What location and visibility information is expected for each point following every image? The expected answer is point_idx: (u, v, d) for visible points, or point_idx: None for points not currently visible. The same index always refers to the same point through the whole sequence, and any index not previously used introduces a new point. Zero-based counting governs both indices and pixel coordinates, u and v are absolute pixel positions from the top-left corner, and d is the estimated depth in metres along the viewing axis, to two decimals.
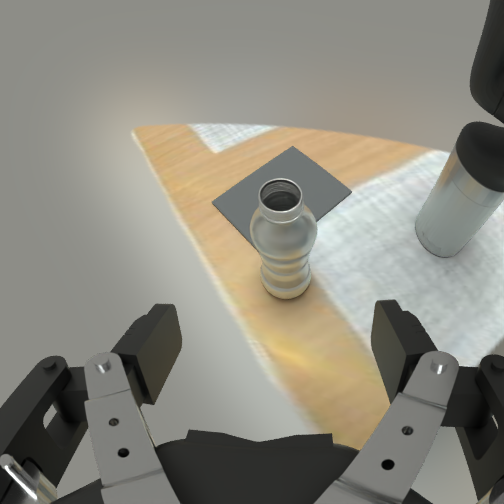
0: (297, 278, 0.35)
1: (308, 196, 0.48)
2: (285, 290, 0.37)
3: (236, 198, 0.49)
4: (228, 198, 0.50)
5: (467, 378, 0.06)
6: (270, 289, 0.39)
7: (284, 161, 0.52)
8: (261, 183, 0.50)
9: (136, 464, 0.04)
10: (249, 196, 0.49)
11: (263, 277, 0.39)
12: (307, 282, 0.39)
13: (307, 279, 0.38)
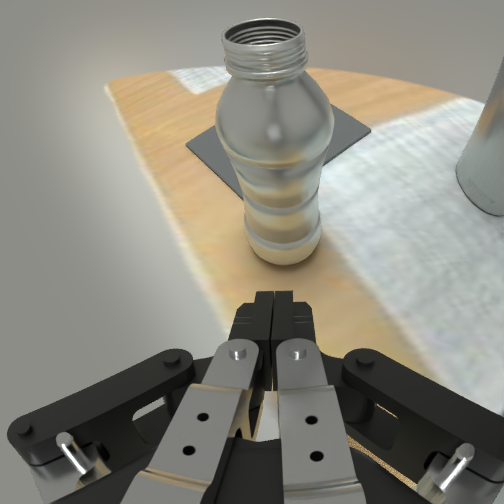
0: (301, 223, 0.21)
1: None
2: (282, 246, 0.23)
3: (217, 138, 0.35)
4: (206, 138, 0.36)
5: (333, 369, 0.08)
6: (258, 247, 0.25)
7: None
8: None
9: (191, 468, 0.04)
10: None
11: (247, 228, 0.25)
12: (316, 236, 0.24)
13: (317, 231, 0.24)
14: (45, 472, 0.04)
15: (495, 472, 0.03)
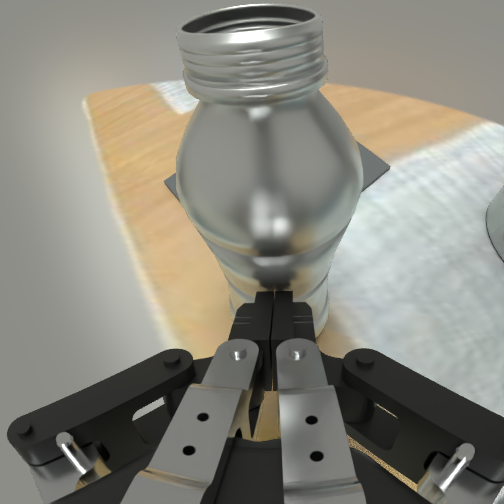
0: None
1: None
2: None
3: None
4: None
5: (333, 369, 0.08)
6: None
7: None
8: None
9: (191, 468, 0.04)
10: None
11: (232, 310, 0.19)
12: (322, 322, 0.18)
13: (323, 316, 0.18)
14: (45, 472, 0.04)
15: (495, 472, 0.03)
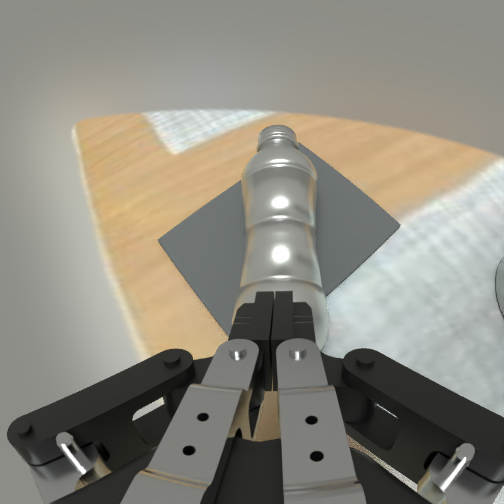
0: (300, 248, 0.20)
1: (326, 233, 0.27)
2: (278, 280, 0.19)
3: (198, 234, 0.28)
4: (184, 233, 0.28)
5: (333, 369, 0.08)
6: (247, 299, 0.19)
7: None
8: None
9: (191, 467, 0.04)
10: (221, 231, 0.28)
11: (238, 293, 0.21)
12: (322, 300, 0.19)
13: (321, 291, 0.20)
14: (45, 472, 0.04)
15: (495, 472, 0.03)
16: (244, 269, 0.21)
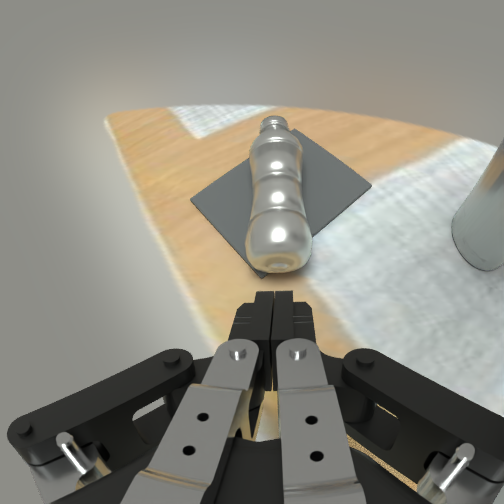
0: (285, 190, 0.30)
1: (316, 191, 0.36)
2: (270, 210, 0.29)
3: (221, 194, 0.38)
4: (210, 193, 0.38)
5: (333, 369, 0.08)
6: (252, 225, 0.29)
7: None
8: None
9: (191, 467, 0.04)
10: (238, 191, 0.38)
11: (248, 225, 0.31)
12: (302, 221, 0.29)
13: (302, 217, 0.29)
14: (45, 472, 0.04)
15: (495, 472, 0.03)
16: (251, 210, 0.31)
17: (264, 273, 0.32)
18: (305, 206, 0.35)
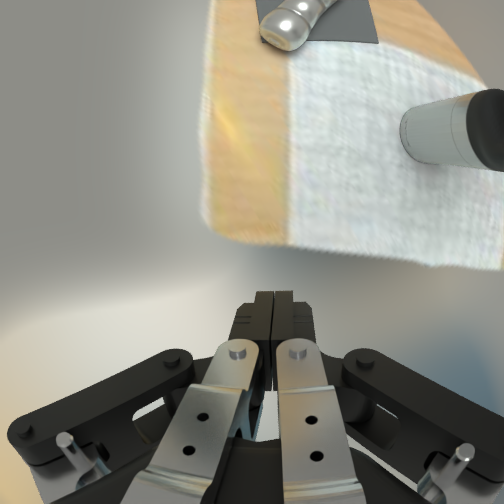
0: (309, 6, 0.30)
1: (337, 18, 0.35)
2: (290, 10, 0.30)
3: None
4: None
5: (333, 369, 0.08)
6: (274, 11, 0.31)
7: None
8: None
9: (191, 467, 0.04)
10: None
11: (273, 10, 0.32)
12: (305, 27, 0.31)
13: (307, 25, 0.31)
14: (45, 472, 0.04)
15: (495, 472, 0.03)
16: (281, 3, 0.31)
17: (265, 40, 0.37)
18: (322, 22, 0.35)
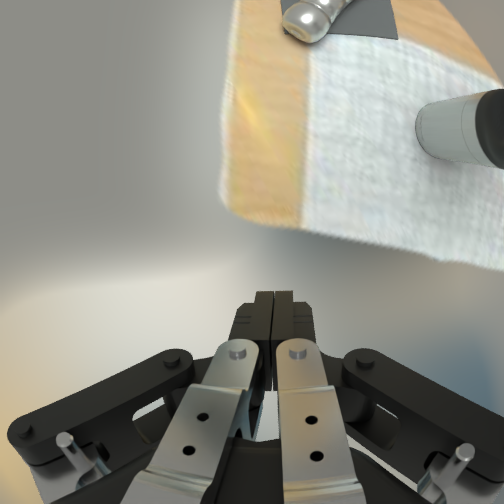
0: (330, 0, 0.30)
1: (358, 13, 0.34)
2: (311, 3, 0.30)
3: None
4: None
5: (333, 369, 0.08)
6: (296, 4, 0.31)
7: None
8: None
9: (191, 468, 0.04)
10: None
11: (295, 3, 0.32)
12: (325, 21, 0.32)
13: (327, 19, 0.31)
14: (45, 472, 0.04)
15: (495, 472, 0.03)
16: None
17: (288, 32, 0.37)
18: (343, 16, 0.35)
